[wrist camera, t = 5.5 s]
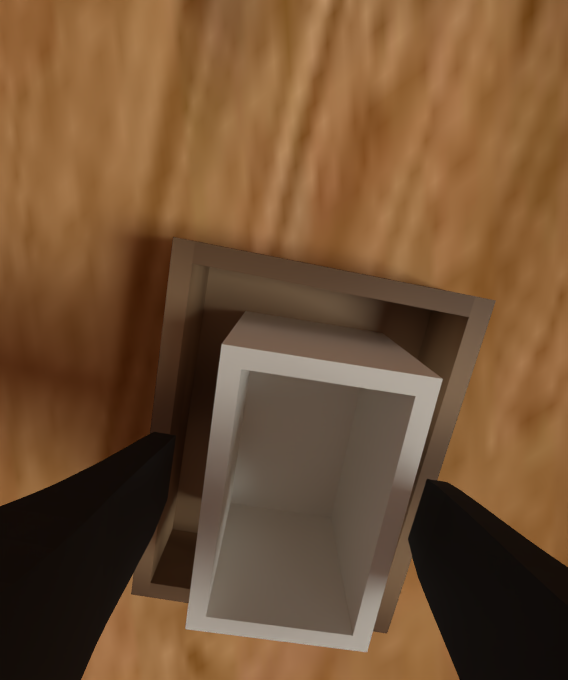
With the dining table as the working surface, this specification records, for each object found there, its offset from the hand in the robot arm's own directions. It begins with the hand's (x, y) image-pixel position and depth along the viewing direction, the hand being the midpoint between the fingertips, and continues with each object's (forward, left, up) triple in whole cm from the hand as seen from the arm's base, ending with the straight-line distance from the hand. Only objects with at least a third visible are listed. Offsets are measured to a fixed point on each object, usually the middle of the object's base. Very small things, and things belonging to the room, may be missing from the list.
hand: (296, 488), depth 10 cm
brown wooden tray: (0, 0, -4) cm, 4 cm away
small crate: (0, 0, -4) cm, 4 cm away
